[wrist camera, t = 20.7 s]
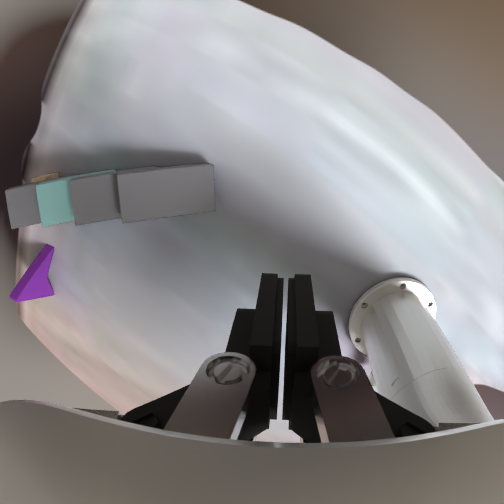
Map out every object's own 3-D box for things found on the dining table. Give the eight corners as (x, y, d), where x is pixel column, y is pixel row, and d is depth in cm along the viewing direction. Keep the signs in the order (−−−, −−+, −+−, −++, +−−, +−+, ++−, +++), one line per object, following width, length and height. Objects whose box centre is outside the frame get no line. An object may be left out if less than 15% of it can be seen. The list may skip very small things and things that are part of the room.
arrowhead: (68, 261, 46) (46, 315, 43) (61, 257, 46) (39, 311, 43) (44, 237, 37) (16, 301, 33) (36, 234, 37) (8, 297, 33)
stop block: (64, 214, 38) (51, 220, 36) (49, 215, 39) (37, 221, 36) (58, 172, 36) (44, 176, 33) (44, 174, 36) (30, 179, 34)
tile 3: (213, 164, 32) (117, 175, 29) (215, 211, 34) (122, 223, 31) (208, 162, 34) (118, 172, 31) (210, 206, 36) (123, 217, 33)
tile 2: (157, 167, 33) (69, 181, 29) (160, 211, 34) (75, 225, 31) (154, 165, 35) (72, 178, 31) (157, 206, 37) (77, 219, 33)
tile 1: (75, 175, 33) (5, 190, 29) (80, 215, 35) (11, 229, 31) (77, 173, 35) (10, 187, 31) (81, 210, 37) (16, 224, 33)
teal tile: (115, 170, 33) (35, 185, 29) (119, 212, 35) (42, 227, 31) (114, 169, 35) (39, 182, 31) (118, 208, 37) (45, 221, 33)
